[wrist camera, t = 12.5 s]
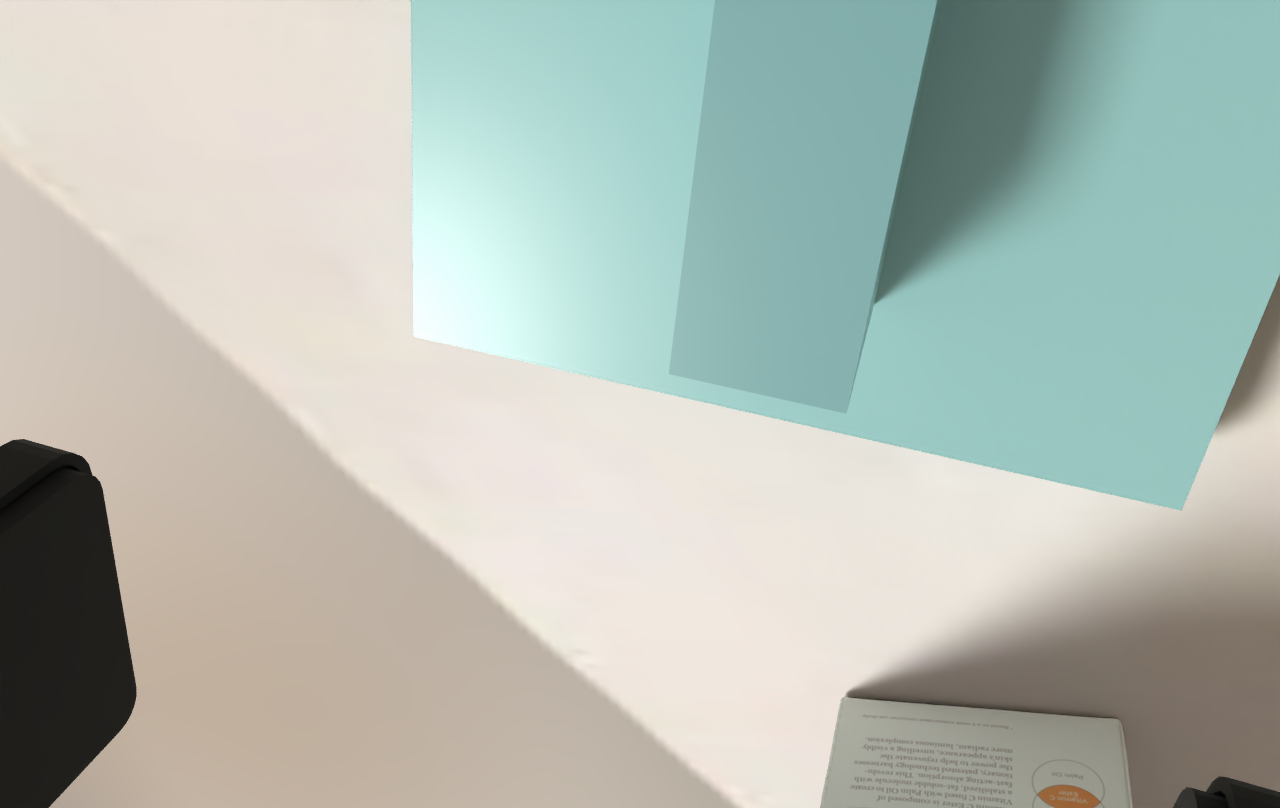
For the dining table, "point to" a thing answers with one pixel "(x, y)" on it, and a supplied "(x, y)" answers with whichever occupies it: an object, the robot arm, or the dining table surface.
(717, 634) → the dining table surface
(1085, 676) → the dining table surface
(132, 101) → the dining table surface
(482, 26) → the lid
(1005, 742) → the small box
